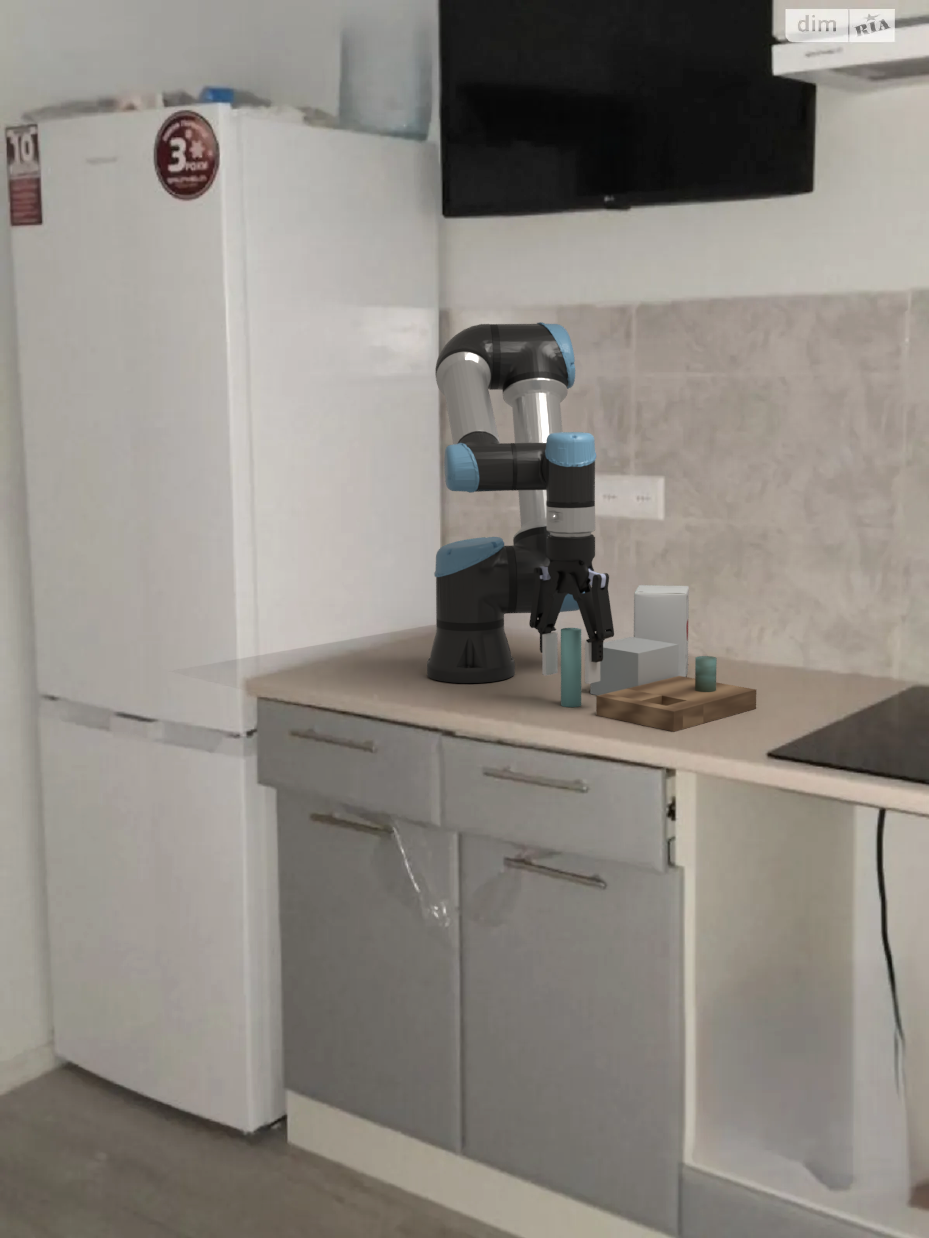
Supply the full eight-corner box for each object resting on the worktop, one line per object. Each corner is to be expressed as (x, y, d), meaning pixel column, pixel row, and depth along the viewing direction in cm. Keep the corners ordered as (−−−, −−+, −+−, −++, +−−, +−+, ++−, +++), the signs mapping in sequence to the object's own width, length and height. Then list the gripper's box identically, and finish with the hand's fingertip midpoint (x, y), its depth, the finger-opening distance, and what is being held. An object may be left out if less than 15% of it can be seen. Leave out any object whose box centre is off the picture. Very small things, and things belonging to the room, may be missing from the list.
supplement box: (686, 681, 254) (687, 593, 252) (632, 680, 256) (632, 592, 254) (689, 670, 263) (690, 584, 261) (637, 669, 265) (637, 584, 262)
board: (596, 715, 232) (596, 663, 230) (679, 693, 245) (679, 645, 244) (673, 731, 221) (674, 677, 219) (756, 708, 234) (757, 657, 233)
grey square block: (590, 693, 246) (590, 645, 245) (630, 684, 253) (630, 636, 252) (638, 703, 239) (638, 653, 238) (678, 693, 246) (678, 644, 244)
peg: (556, 704, 239) (556, 629, 237) (570, 701, 241) (570, 627, 239) (571, 708, 236) (571, 632, 234) (585, 704, 239) (585, 629, 237)
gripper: (504, 530, 239) (506, 672, 243) (606, 541, 224) (606, 691, 228) (538, 526, 244) (538, 665, 248) (639, 536, 229) (638, 684, 233)
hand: (571, 677), depth 238 cm, fingers open, 8 cm apart
